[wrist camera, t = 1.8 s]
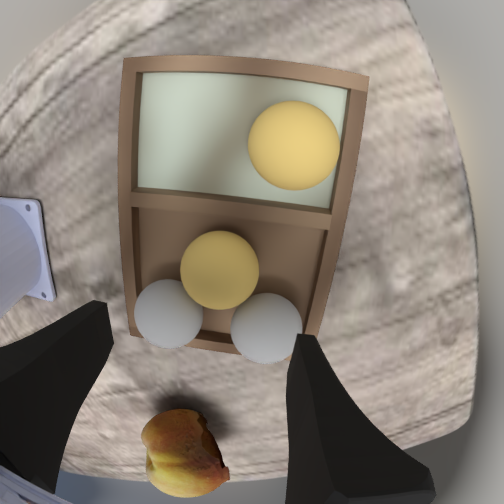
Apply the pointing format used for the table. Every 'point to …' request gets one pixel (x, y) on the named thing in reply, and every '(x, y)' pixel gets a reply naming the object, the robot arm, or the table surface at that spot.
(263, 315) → the grey ball
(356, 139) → the sorting board
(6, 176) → the table surface
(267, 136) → the ochre ball
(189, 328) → the grey ball
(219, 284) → the ochre ball
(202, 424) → the fruit
